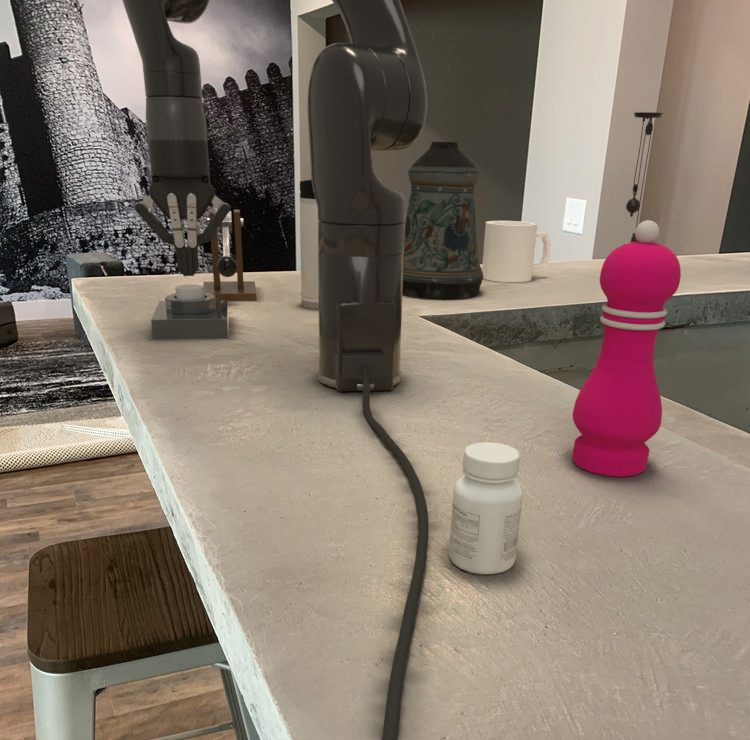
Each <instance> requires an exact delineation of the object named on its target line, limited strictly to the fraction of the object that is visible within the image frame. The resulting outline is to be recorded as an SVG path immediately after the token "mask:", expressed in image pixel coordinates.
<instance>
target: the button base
mask: <svg viewBox="0 0 750 740" xmlns="http://www.w3.org/2000/svg"><path fill="white" fill-rule="evenodd" d="M229 314H230V313H229V301H228V300H225V301H216V295H213V294H210V293H205V298H203V299H196V300H182V299H176V292H175V293H171V294H167V295H165V297H164V300H159V301H158V304H157V306H156V308H155V310H154V312H153V315H152V317H151V319H150V323H151V333H152V335H151V336H152V340H190V339H191V340H198V339H199V340H201V339H202V340H203V339H204V340H207V339H229V327H230V319H229V318H230V315H229Z"/></svg>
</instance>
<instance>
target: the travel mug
mask: <svg viewBox="0 0 750 740" xmlns="http://www.w3.org/2000/svg"><path fill="white" fill-rule="evenodd" d="M299 192H300V193H299V201H300V202H299V235H300V240H299V241H300V244H299V245H300V247H299V248H300V294H301V298H300V299H301V301H300V303H301V307H302V308H305V309H309V310H319V285H318V207H317V202H316V198H315V195H314V192H313V187H312V180H311V179H306V180H305V179H304V180H300V181H299Z"/></svg>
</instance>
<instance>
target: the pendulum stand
mask: <svg viewBox="0 0 750 740" xmlns="http://www.w3.org/2000/svg"><path fill="white" fill-rule="evenodd" d="M208 216H209V217H206V227H207V226H208V224H209V223H210V221H211V220H212V218H213V217H214V214H213V213H212V208H211V209H209V212H208ZM233 219H234V220H233V222H234V224H233V225H234V240H235V241H234V242H235V259H236V260H235V262H236V264H237V271H236V277H237V278H236V280H235V281H234V280H233V281H230V280H229V281H221V274H220V273H219V272H218V270H217V263H218V261H219V259H220V253H219V252H220V251H219V239H218V229H217V230H216V232H215V233H214V235H213V236H212V237H211V239H210V245H211V247H210V248H211V261H212V276H213V277H212V278H213V281H203V284H202V286H204V287H205V293H210V294H213V295H216V301H225V300H228V302H257V300H258V299H257V297H258V295H257V287H256V282H255V280H254V281H253V280H251V281H249V280H248V281H244V265H243V264H244V263H243V247H242V227H245V225H244V224H245V223H244V217H241V210H240V209H233Z"/></svg>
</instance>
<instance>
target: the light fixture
mask: <svg viewBox="0 0 750 740" xmlns="http://www.w3.org/2000/svg"><path fill="white" fill-rule="evenodd" d="M663 114H664V113H663V112H655V111H654V112H651V111H650V112H649V111H648V112H645V111H642V112H641V111H638V112H633V115H634V118H638V119H639V118H640V119H642V124H641V125H642V127H641V132H640V133H641V134H640V142H639V149H638V154H637V161H636V167H635V170H634V171H635V173H634V177H633V186H632V195H633V197H632V198H630V199H629V200H628V201H627V203H626V205H625V209H626V211H627V212H628V213H629V216H630V218H632V217H633V216H634V214H635V213H637V217H636V224H635V229H636V228H637V226H638V223H639V214H640V208H641V202H642V195H643V190H644V189H643V188H644V182H645V176H646V172H647V171H646V170H647V165H648V164H647V163H648V158H649V153H650V148H651V147H650V146H651V139H652V134H653V130H654V125H653V119H661V117H662V116H663ZM646 120H647V124H646V126H645V127H644V125H645V122H646ZM644 128H645V129H644ZM643 131H644V139H643ZM646 136H649V141H648V148H647V154H646V158H645V159H646V160H645V166H644V171H643V178H642V183H641V189H640V190H641V191H640V196H639V199H637V198H636V196H637V194H638V190H639V182H640V178H641V177H640V176H641V169H642V163H643V155H644V149H645V142H646ZM642 139H643V144H642ZM641 146H642V149H641ZM641 150H642V151H641ZM640 152H641V157H640ZM639 158H640V163H639ZM638 164H640V165H638ZM638 166H639V170H638ZM637 170H638V179H637V183H636V176H637ZM630 242H637V240H636V237H635V232H633V233H632V235H631V238H630Z"/></svg>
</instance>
